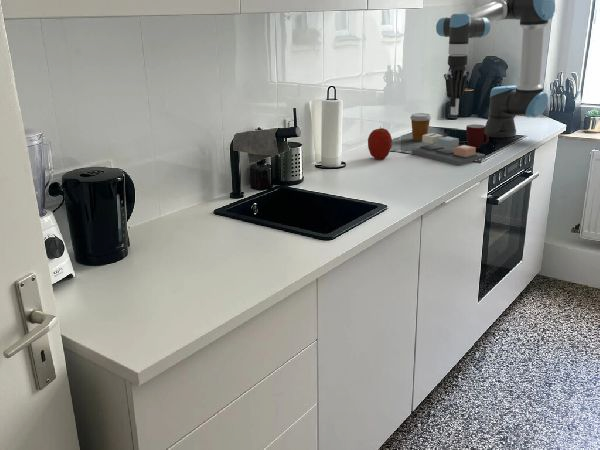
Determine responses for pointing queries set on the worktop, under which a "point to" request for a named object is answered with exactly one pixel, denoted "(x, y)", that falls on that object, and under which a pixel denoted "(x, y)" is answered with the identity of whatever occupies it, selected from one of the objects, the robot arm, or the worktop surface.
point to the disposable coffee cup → (419, 125)
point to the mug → (476, 135)
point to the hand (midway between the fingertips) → (454, 114)
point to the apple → (379, 143)
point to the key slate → (448, 142)
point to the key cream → (431, 138)
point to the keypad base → (445, 154)
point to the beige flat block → (464, 150)
